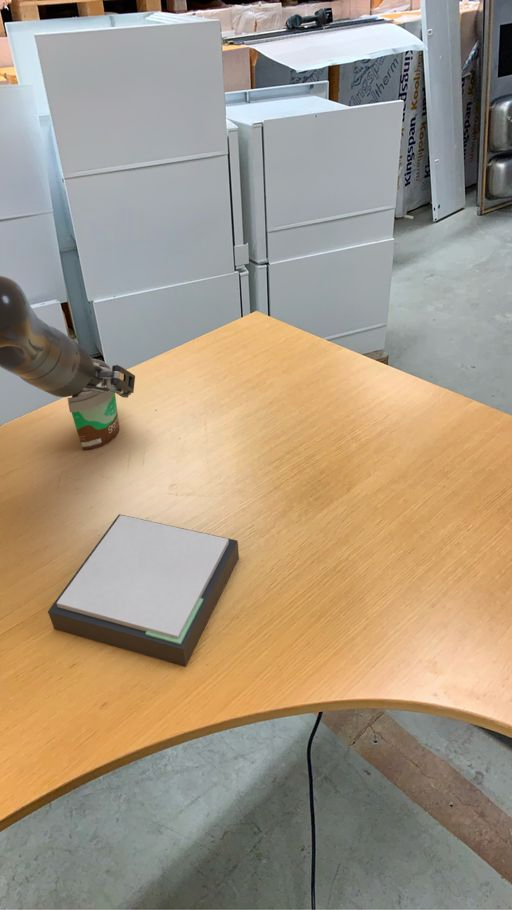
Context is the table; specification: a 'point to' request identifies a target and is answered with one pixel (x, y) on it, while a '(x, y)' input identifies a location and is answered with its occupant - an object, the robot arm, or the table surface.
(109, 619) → the scale
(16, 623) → the table surface
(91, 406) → the food container
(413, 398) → the table surface
